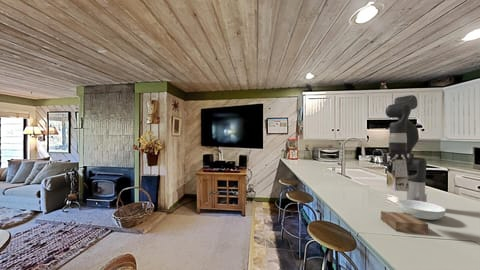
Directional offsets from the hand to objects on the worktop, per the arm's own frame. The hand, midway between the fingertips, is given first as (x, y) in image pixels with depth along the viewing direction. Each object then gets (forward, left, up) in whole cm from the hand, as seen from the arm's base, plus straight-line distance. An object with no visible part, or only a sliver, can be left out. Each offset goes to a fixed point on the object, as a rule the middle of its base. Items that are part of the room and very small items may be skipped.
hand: (397, 172), depth 106 cm
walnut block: (-2, +2, -28) cm, 28 cm away
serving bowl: (-20, -15, -28) cm, 38 cm away
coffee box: (0, 0, -9) cm, 9 cm away
